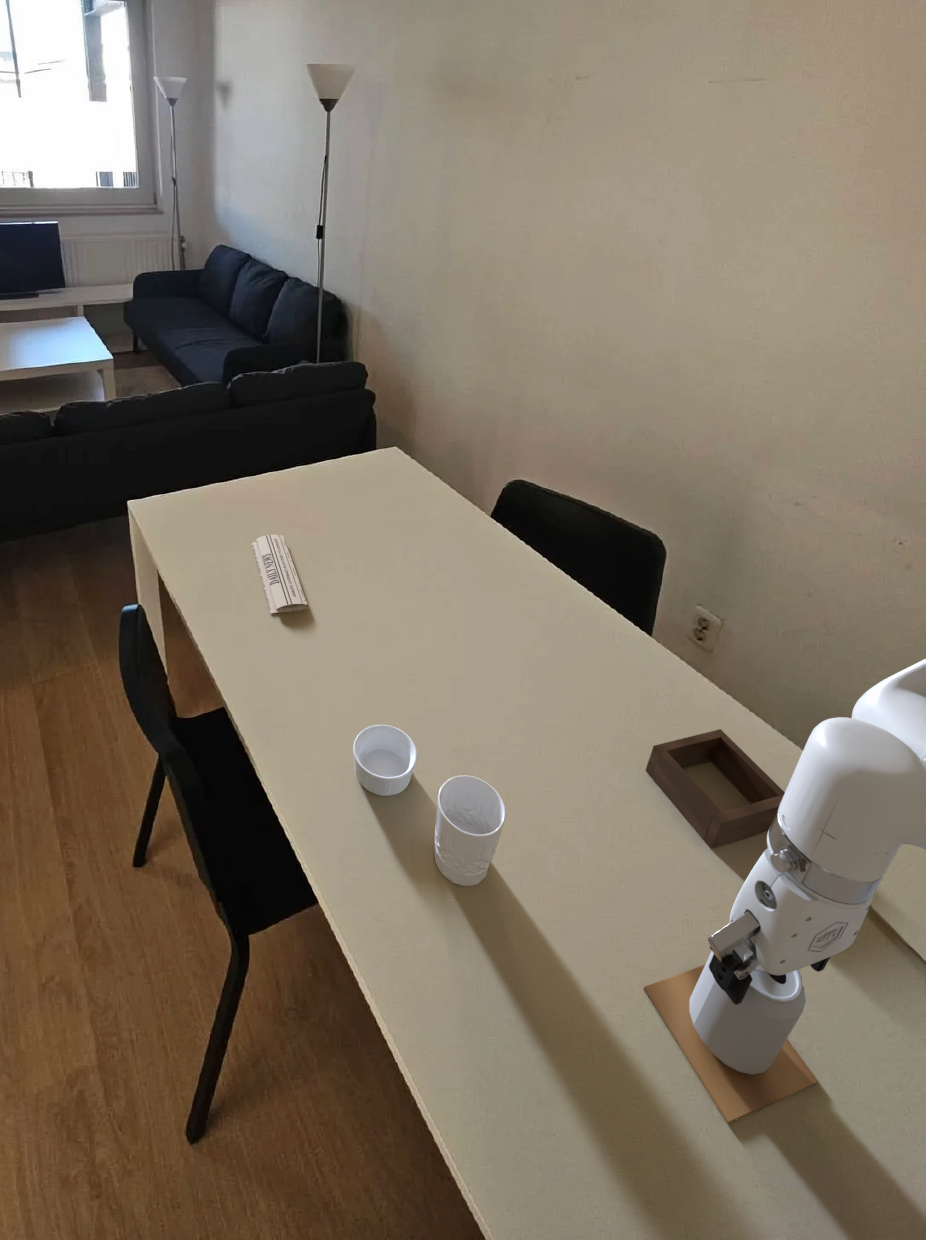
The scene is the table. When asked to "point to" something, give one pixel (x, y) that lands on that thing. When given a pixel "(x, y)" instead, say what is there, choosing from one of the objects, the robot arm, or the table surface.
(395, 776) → the ramekin
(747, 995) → the can
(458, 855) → the white cup
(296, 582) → the newspaper
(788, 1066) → the coaster
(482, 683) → the table surface
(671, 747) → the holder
